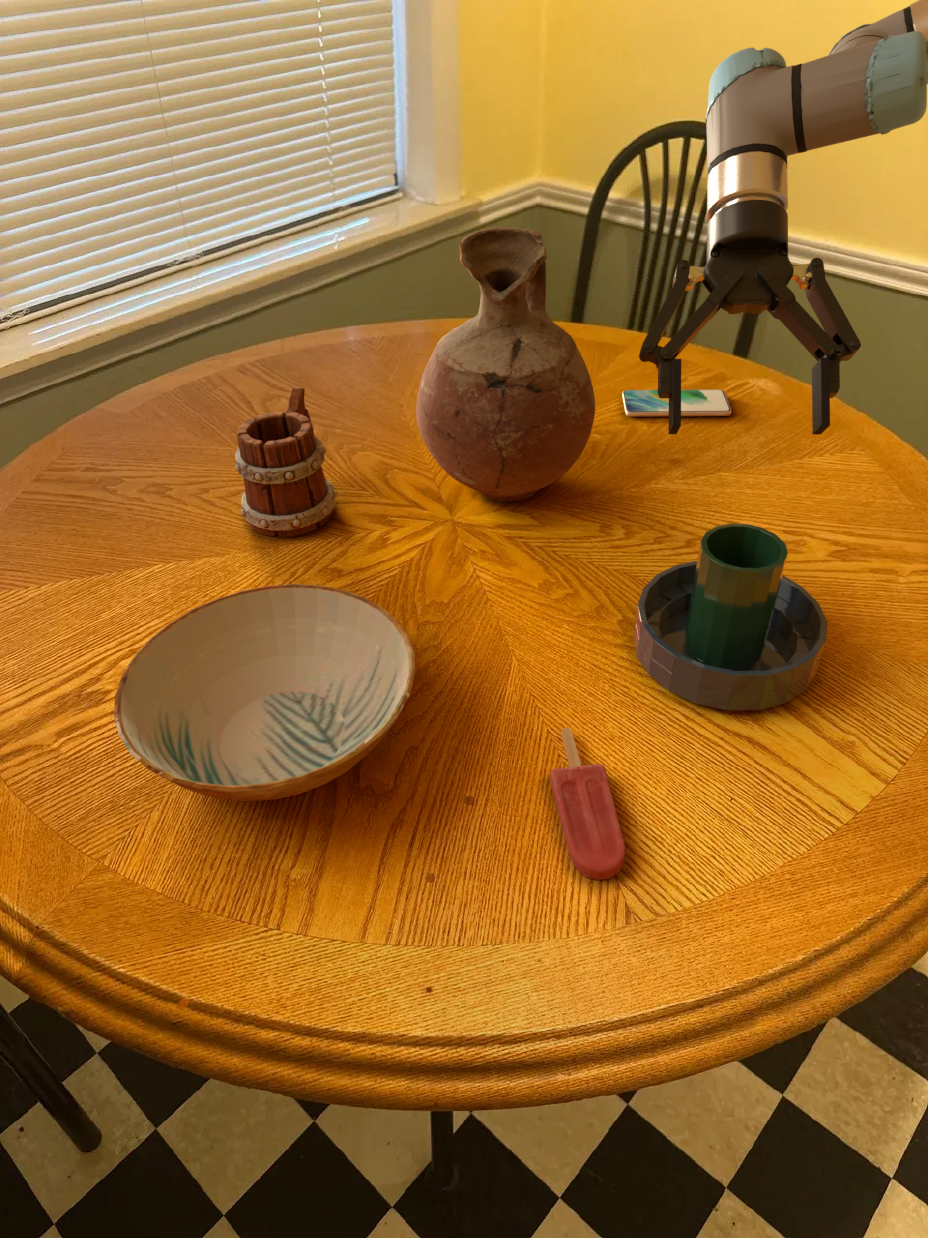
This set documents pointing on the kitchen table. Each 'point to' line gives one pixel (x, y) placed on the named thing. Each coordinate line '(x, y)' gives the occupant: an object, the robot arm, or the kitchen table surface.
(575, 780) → the popsicle
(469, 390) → the jug
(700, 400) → the smartphone
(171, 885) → the kitchen table surface
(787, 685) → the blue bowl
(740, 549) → the green cup
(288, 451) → the mug
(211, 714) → the bowl
